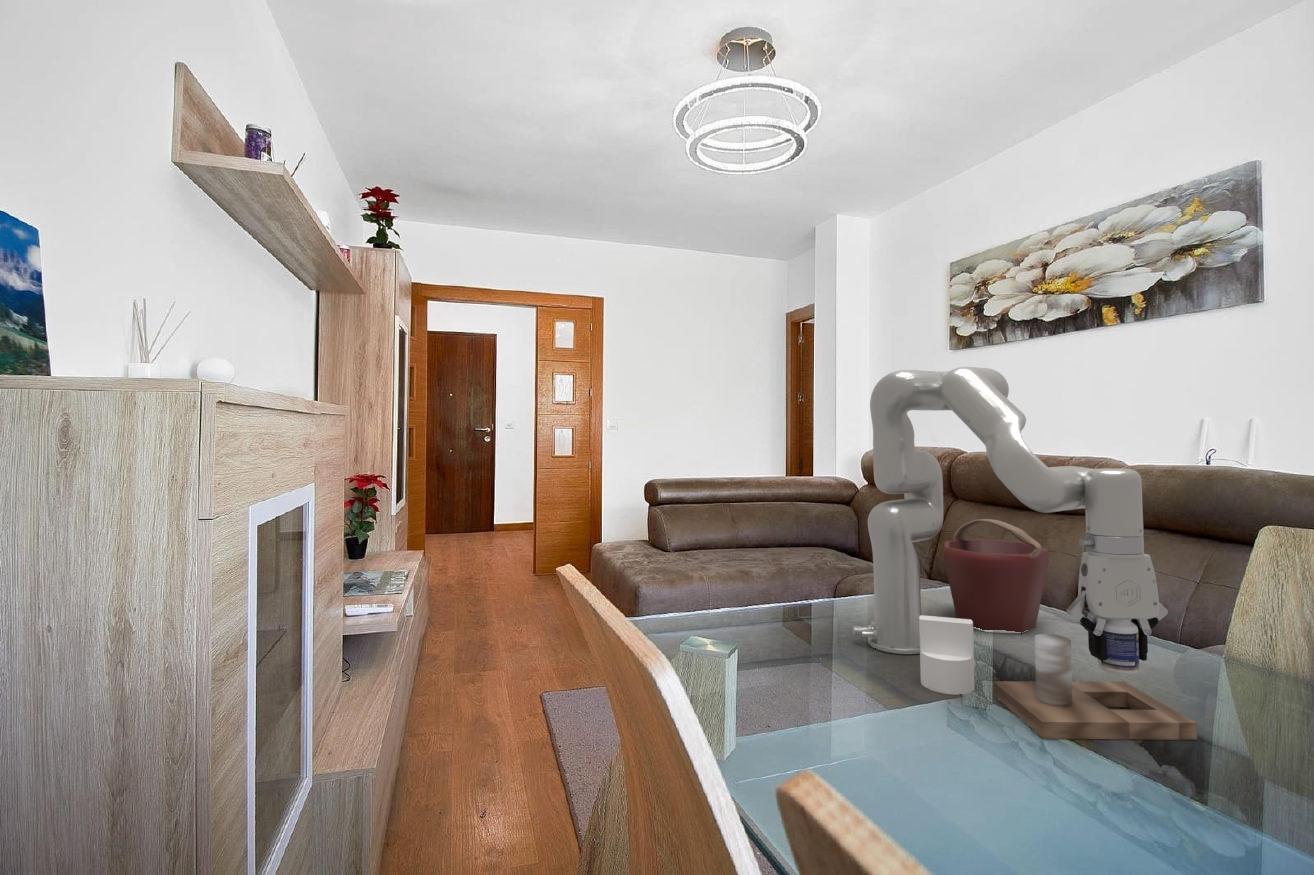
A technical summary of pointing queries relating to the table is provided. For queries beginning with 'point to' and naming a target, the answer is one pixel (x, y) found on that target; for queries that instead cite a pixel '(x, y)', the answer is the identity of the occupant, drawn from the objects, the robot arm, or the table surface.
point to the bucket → (996, 578)
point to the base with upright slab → (946, 654)
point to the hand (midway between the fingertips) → (1118, 656)
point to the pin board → (1086, 702)
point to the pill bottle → (1121, 647)
